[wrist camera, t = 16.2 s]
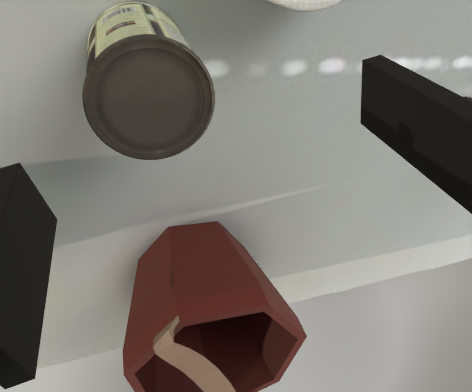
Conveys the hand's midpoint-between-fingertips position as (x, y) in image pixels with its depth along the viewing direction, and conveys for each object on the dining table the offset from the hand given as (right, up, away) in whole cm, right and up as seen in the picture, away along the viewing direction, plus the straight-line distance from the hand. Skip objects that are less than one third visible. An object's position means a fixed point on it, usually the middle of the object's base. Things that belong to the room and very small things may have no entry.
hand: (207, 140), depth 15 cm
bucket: (-5, -12, +47) cm, 49 cm away
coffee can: (-9, +13, +27) cm, 31 cm away
